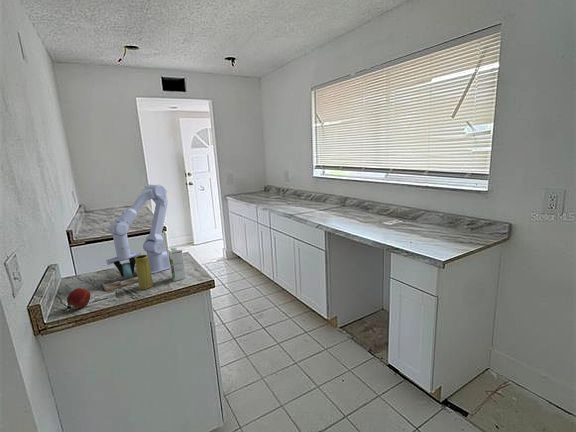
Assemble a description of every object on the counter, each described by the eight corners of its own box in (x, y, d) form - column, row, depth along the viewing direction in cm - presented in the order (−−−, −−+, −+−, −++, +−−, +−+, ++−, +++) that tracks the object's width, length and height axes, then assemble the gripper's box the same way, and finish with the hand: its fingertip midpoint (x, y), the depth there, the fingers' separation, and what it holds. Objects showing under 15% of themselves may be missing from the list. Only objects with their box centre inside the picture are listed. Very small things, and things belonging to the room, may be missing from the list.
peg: (132, 275, 146) (129, 261, 144) (133, 277, 142) (130, 264, 141) (123, 277, 144) (120, 263, 142) (123, 280, 140) (121, 266, 139)
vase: (150, 282, 140) (145, 253, 137) (155, 286, 135) (150, 256, 132) (137, 287, 136) (131, 257, 133) (141, 290, 131) (136, 260, 128)
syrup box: (171, 277, 144) (166, 248, 141) (184, 274, 146) (180, 246, 143) (173, 281, 139) (168, 252, 136) (186, 278, 142) (182, 249, 138)
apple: (92, 307, 119) (88, 289, 117) (68, 314, 115) (63, 295, 113) (92, 300, 125) (88, 282, 124) (69, 306, 121) (65, 288, 120)
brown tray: (136, 274, 150) (135, 270, 150) (141, 281, 142) (141, 276, 142) (101, 284, 141) (100, 280, 141) (105, 291, 133) (104, 287, 132)
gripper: (136, 242, 147) (141, 267, 150) (103, 249, 138) (108, 276, 141) (140, 244, 142) (145, 271, 145) (105, 252, 133) (111, 281, 136)
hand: (127, 274), depth 143 cm, fingers closed on peg, 4 cm apart
